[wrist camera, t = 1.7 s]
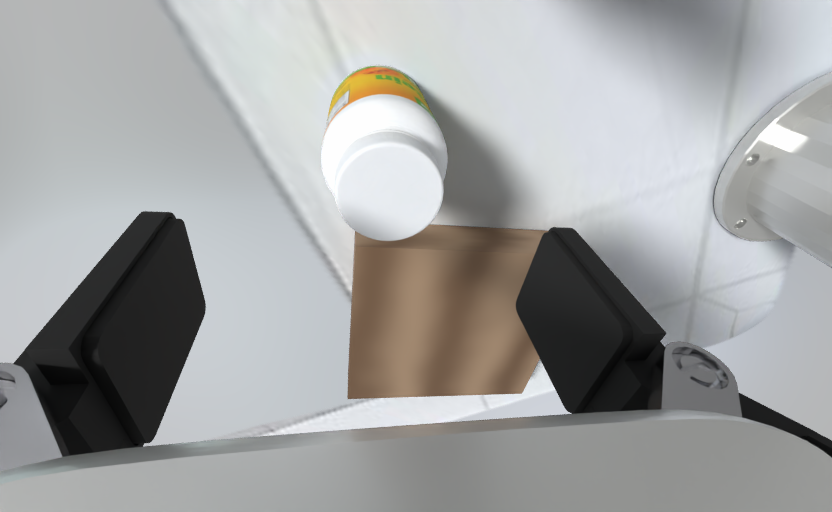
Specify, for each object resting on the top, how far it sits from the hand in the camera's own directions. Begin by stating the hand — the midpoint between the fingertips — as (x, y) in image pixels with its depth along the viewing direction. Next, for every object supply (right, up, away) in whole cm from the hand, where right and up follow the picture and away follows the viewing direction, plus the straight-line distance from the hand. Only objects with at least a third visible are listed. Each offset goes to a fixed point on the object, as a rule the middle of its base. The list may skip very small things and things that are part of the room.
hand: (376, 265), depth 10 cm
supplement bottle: (-1, +8, +11) cm, 14 cm away
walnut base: (+4, -4, +21) cm, 22 cm away
